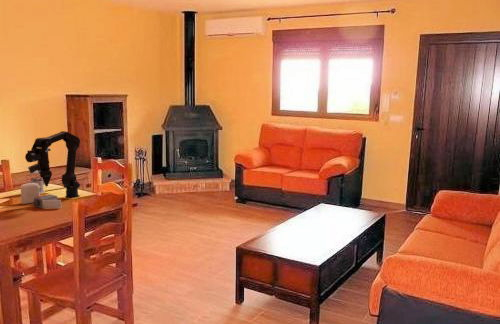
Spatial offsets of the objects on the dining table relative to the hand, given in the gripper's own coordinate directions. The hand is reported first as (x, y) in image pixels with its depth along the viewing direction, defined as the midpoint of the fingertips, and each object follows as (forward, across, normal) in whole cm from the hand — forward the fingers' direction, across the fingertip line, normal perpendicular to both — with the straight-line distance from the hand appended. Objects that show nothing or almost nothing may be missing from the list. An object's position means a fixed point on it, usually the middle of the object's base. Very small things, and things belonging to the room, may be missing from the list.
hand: (45, 184), depth 259 cm
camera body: (+13, +2, -1) cm, 13 cm away
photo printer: (+13, -10, -8) cm, 18 cm away
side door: (+12, +10, +1) cm, 16 cm away
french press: (+14, -37, -4) cm, 39 cm away
